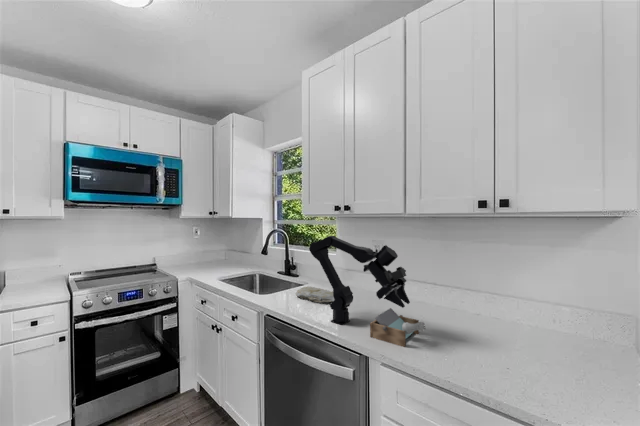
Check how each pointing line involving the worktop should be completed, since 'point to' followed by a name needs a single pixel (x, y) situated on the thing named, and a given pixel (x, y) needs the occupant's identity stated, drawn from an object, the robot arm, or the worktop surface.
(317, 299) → the fossil stone
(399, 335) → the walnut stand
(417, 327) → the rook chess piece
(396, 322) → the trapdoor flap
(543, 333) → the worktop surface
